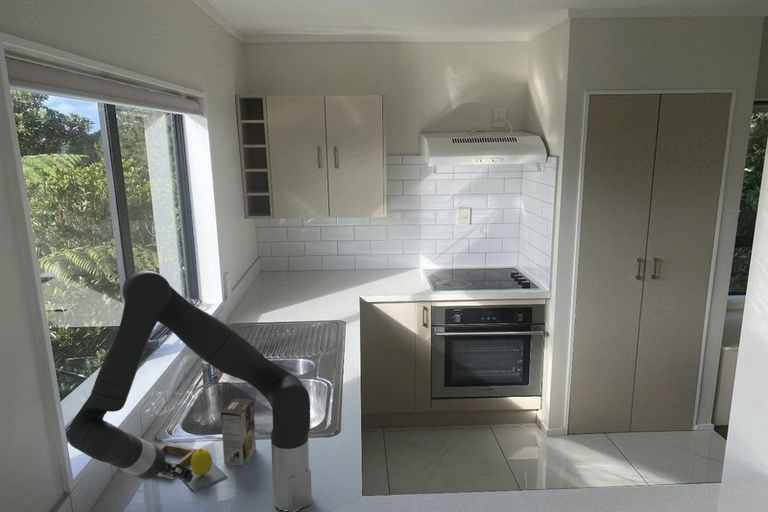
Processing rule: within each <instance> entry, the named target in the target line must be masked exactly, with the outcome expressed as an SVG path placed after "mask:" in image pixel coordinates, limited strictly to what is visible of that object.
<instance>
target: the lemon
mask: <svg viewBox="0 0 768 512" xmlns="http://www.w3.org/2000/svg"><path fill="white" fill-rule="evenodd" d="M212 462H213V458H212V456H211V452H209V451H208V450H207V449H205V448H199V449H197V451H196V452H195V453H194V454H193V455H192V458H191V463H190V469H192V471H193V472H194V473H195V474H197V475H201V476H203V475H204V474H206V473H208V472H209V470H210V469H211V466H212Z"/></svg>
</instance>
